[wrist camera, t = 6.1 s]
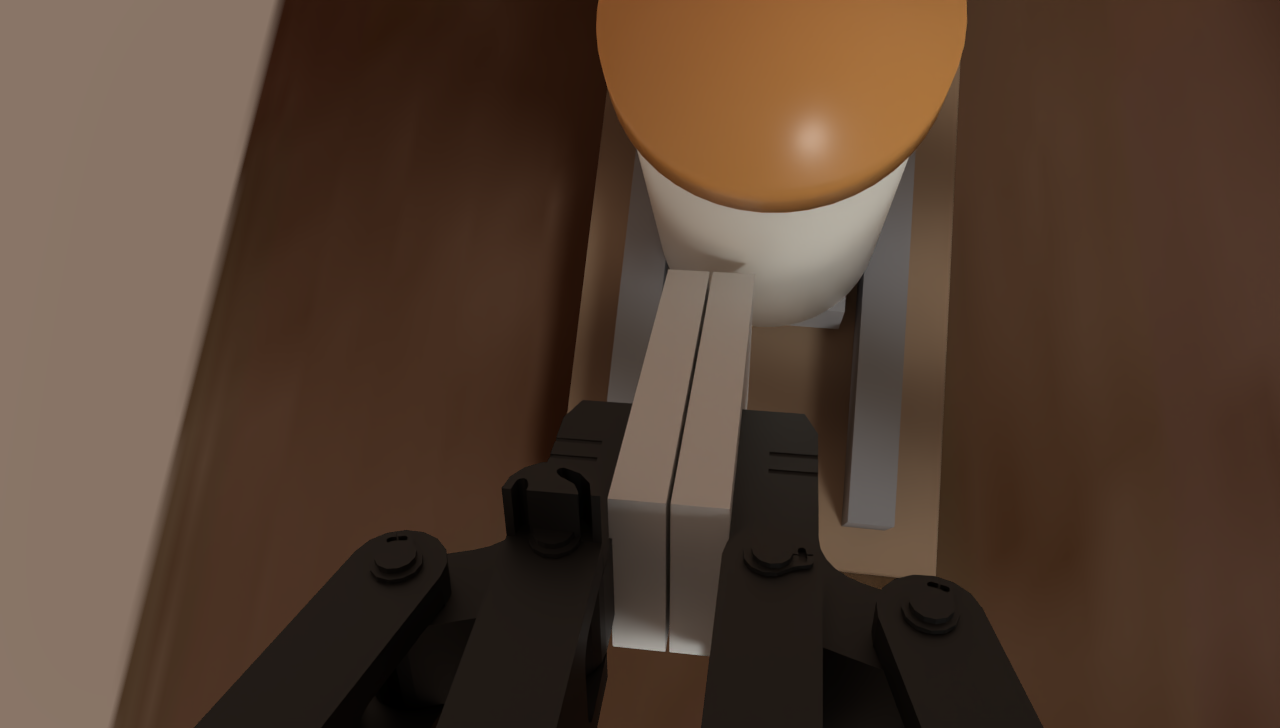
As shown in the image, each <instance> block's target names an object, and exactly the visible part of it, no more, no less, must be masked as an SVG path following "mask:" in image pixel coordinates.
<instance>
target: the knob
mask: <svg viewBox="0 0 1280 728" xmlns="http://www.w3.org/2000/svg"><path fill="white" fill-rule="evenodd" d="M966 27H967V3H966V0H599V2H598V7H597V22H596V34H597V45H598V53H599V57H600V61H601V66H602V70H603V74H604V77H605V81H606V84H607V88H608V91H609V95H610V98H611V102H612V104H613V107H614V110H615V112H616V115H617V117H618V120H619V122H620V124H621V126H622V127H623V129H624V131H625V133H626V134H627V136H628V138H629V140H630V141H631V142H632V144H633V145H634V146H635V147H636V149H637V152H638V155H639V159H640V163H641V167H642V171H643V175H644V179H645V183H646V186H647V190H648V194H649V198H650V202H651V206H652V210H653V214H654V218H655V221H656V225H657V229H658V233H659V237H660V241H661V245H662V249H663V252H664V256H665V258H666V261H667V264H668V266H669V268H670V269H671V270H690V271H708V272H710V276H709V291H710V286H711V280H712V275H713V272H726V273H744V274H755V279H754V297H753V315H752V326H756V327H778V326H787V325H789V326H802V327H815V328H828V329H839V326H840V324H841V321H842V318H843V315H844V312H845V300H846V295H847V294H848V293H849V292H850V291H851V290H852V289H853V287H854V286H855V285H856V284H857V282H858V281H859V280H860V278H861V276H862V275H863V273H864V272H865V270H866V268H867V266H868V263H869V261H870V259H871V257H872V254H873V251H874V249H875V246H876V243H877V241H878V238H879V235H880V233H881V230H882V227H883V225H884V222H885V219H886V217H887V214H888V211H889V209H890V206H891V204H892V201H893V198H894V196H895V193H896V190H897V188H898V185H899V182H900V180H901V177H902V174H903V172H904V169H905V166H906V164H907V161H908V158H909V157H910V156H911V154H912V153H913V152H914V151H915V149H916V148H917V147H918V146H919V145H920V143H921V142H922V141H923V140H924V139H925V137H926V135H927V134H928V132H929V130H930V129H931V127H932V126H933V124H934V122H935V121H936V119H937V117H938V114H939V112H940V110H941V108H942V105H943V103H944V101H945V98H946V96H947V93H948V91H949V88H950V86H951V84H952V81H953V79H954V76H955V74H956V71H957V69H958V66H959V62H960V59H961V55H962V52H963V48H964V43H965V35H966Z"/></svg>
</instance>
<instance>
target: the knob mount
mask: <svg viewBox="0 0 1280 728" xmlns="http://www.w3.org/2000/svg"><path fill="white" fill-rule="evenodd" d="M959 78H960V62H959V66H958V69H957V71H956V74H955V76H954V79H953V81H952V84H951V86H950V88H949V91H948V93H947V96H946V98H945V101H944V103H943V105H942V108H941V110H940V112H939V114H938V117H937V119H936V121H935V122H934V124H933V126H932V127H931V129H930V130H929V132H928V134H927V135H926V137H925V139H924V140H923V141H922V142H921V143H920V145H919V146H918V147H917V148H916V149H915V151H914V152H913V153H912V154H911V156H910V157H909V158H908V161H907V164H906V166H905V169H904V172H903V174H902V177H901V180H900V182H899V185H898V188H897V190H896V193H895V196H894V198H893V201H892V204H891V206H890V209H889V211H888V214H887V217H886V219H885V222H884V225H883V227H882V230H881V233H880V235H879V238H878V241H877V243H876V246H875V249H874V251H873V254H872V257H871V259H870V261H869V263H868V266H867V268H866V270H865V272H864V273H863V275H862V276H861V278H860V280H859V281H858V282H857V284H856V285H855V286H854V287H853V289H852V290H851V291H850V292H849V293H848V294H847V295H846V300H845V312H844V315H843V318H842V321H841V324H840V326H839V329H828V328H815V327H802V326H789V325H787V326H778V327H756V326H752V333H751V351H750V369H749V387H748V402H747V410H758V411H772V412H785V413H799V414H805V415H806V417H807V418H808V420H809V421H810V423H811V424H812V426H813V427H814V429H815V430H816V432H817V433H818V501H819V542H820V548H821V550H822V552H823V554H824V556H825V558H826V559H827V560H828V561H829V562H830V563H831V565H832V566H833V567H834V568H835V569H837V570H838V571H840V572H849V573H858V574H868V575H877V576H886V577H896V578H901V577H905V576H909V575H928V576H936V560H937V539H938V518H939V497H940V476H941V455H942V434H943V413H944V392H945V371H946V350H947V329H948V309H949V288H950V267H951V246H952V225H953V204H954V183H955V162H956V141H957V120H958V99H959ZM668 269H670V268H669V266H668V264H667V261H666V258H665V256H664V252H663V249H662V245H661V241H660V237H659V233H658V229H657V225H656V221H655V218H654V214H653V210H652V206H651V202H650V198H649V194H648V190H647V186H646V183H645V179H644V175H643V171H642V167H641V163H640V159H639V155H638V152H637V149H636V147H635V146H634V145H633V144H632V142H631V141H630V140H629V138H628V136H627V134H626V133H625V131H624V129H623V127H622V126H621V124H620V122H619V120H618V117H617V115H616V112H615V110H614V107H613V104H612V102H611V98H610V95H609V91H608V88H607V95H606V103H605V111H604V119H603V127H602V135H601V143H600V151H599V159H598V168H597V176H596V184H595V192H594V200H593V208H592V216H591V224H590V232H589V241H588V249H587V257H586V265H585V273H584V281H583V289H582V297H581V306H580V314H579V322H578V330H577V338H576V346H575V354H574V362H573V370H572V379H571V387H570V395H569V403H568V411H567V414H568V413H569V412H570V411H571V410H572V409H573V408H574V407H575V406H576V405H578V404H579V403H580V402H581V401H582V400H591V401H605V402H618V403H632V404H633V401H634V397H635V393H636V389H637V386H638V382H639V378H640V374H641V371H642V367H643V363H644V359H645V355H646V352H647V348H648V344H649V340H650V337H651V333H652V329H653V325H654V322H655V318H656V314H657V310H658V306H659V303H660V299H661V295H662V291H663V288H664V284H665V280H666V276H667V273H668Z"/></svg>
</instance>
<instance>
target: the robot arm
mask: <svg viewBox="0 0 1280 728" xmlns="http://www.w3.org/2000/svg"><path fill="white" fill-rule="evenodd" d="M709 276H710V272H708V271H690V270H671V269H668V273H667V276H666V280H665V284H664V288H663V291H662V295H661V299H660V303H659V306H658V310H657V314H656V318H655V322H654V325H653V329H652V333H651V337H650V340H649V344H648V348H647V352H646V355H645V359H644V363H643V367H642V371H641V374H640V378H639V382H638V386H637V389H636V393H635V397H634V401H633V404H632V403H618V402H605V401H591V400H582V401H581V402H580V403H579V404H578V405H576V406H575V407H574V408H573V409H572V410H571V411H570V412H569V413H568V414H567V415H565V416H564V418H563V421H562V423H561V426H560V429H559V432H558V434H557V437H556V441H555V443H554V445H553V448H552V451H551V456H550V458H549V459H548V462H542V463H538V464H535V465H531V466H528V467H525V468H523V469H521V470H520V471H518V472H517V473H515V474H513V475H512V476H510V477H509V479H508V480H507V482H506V483H505V484H504V486H503V487H502V495H503V505H504V514H505V523H506V533H507V536H506V539H505V540H504V541H501V542H499V543H497V544H494V545H492V546H489V547H485V548H481V549H476V550H470V551H463V552H457V553H450V554H447V553H446V549H445V548H444V546H443V545H442V544H441V542H440V541H439V540H438V539H437V538H435V537H433V536H431V535H429V534H426V533H424V532H418V531H409V530H404V531H397V532H390V533H386V534H383V535H381V536H378V537H376V538H374V539H371V540H369V541H368V542H366V543H365V544H364V545H363V546H361V547H360V548H359V549H358V550H356V551H355V552H354V553H353V554H352V555H351V557H350V558H349V559H348V560H347V561H346V562H345V563H344V564H343V565H342V566H341V567H340V569H339V570H338V571H337V572H336V573H335V574H334V575H333V576H332V577H331V578H330V579H329V581H328V582H327V583H326V584H325V585H324V586H323V587H322V588H321V589H320V590H319V592H318V593H317V594H316V595H315V596H314V597H313V598H312V599H311V600H310V601H309V602H308V604H307V605H306V606H305V607H304V608H303V609H302V610H301V611H300V612H299V613H298V614H297V616H296V617H295V618H294V619H293V620H292V621H291V622H290V623H289V624H288V625H287V627H286V628H285V629H284V630H283V631H282V632H281V633H280V634H279V635H278V636H277V637H276V639H275V640H274V641H273V642H272V643H271V644H270V645H269V646H268V647H267V648H266V649H265V651H264V652H263V653H262V654H261V655H260V656H259V657H258V658H257V659H256V660H255V661H254V663H253V664H252V665H251V666H250V667H249V668H248V669H247V670H246V671H245V672H244V674H243V675H242V676H241V677H240V678H239V679H238V680H237V681H236V682H235V683H234V684H233V686H232V687H231V688H230V689H229V690H228V691H227V692H226V693H225V694H224V695H223V696H222V698H221V699H220V700H219V701H218V702H217V703H216V704H215V705H214V706H213V707H212V708H211V710H210V711H209V712H208V713H207V714H206V715H205V716H204V717H203V718H202V719H201V721H200V722H199V723H198V724H197V725H196V726H195V727H194V728H597V725H598V720H599V715H600V711H601V706H602V701H603V696H604V691H605V686H606V682H607V677H608V676H607V647H608V643H609V638H610V634H611V629H612V637H613V646H616V647H626V648H635V649H645V650H655V651H664V652H665V651H666V644H667V638H668V632H669V625H670V652H674V653H684V654H693V655H703V656H710V658H709V666H708V675H707V683H706V692H705V700H704V708H703V717H702V725H701V728H1043V726H1042V724H1041V722H1040V720H1039V718H1038V716H1037V714H1036V712H1035V710H1034V708H1033V706H1032V704H1031V702H1030V700H1029V699H1028V697H1027V695H1026V693H1025V691H1024V689H1023V687H1022V685H1021V683H1020V681H1019V679H1018V677H1017V675H1016V673H1015V671H1014V669H1013V667H1012V665H1011V663H1010V661H1009V659H1008V657H1007V656H1006V654H1005V652H1004V650H1003V648H1002V646H1001V644H1000V642H999V640H998V638H997V636H996V634H995V632H994V630H993V628H992V626H991V624H990V622H989V620H988V618H987V616H986V615H985V613H984V611H983V609H982V607H981V606H980V605H979V603H978V602H977V601H976V600H975V598H974V597H973V596H972V595H971V594H970V593H969V592H967V591H966V590H964V589H963V588H961V587H960V586H958V585H957V584H955V583H954V582H951V581H948V580H945V579H942V578H939V577H936V576H928V575H909V576H905V577H901V578H896V579H894V580H893V581H891V582H890V583H889V584H887V585H886V586H884V587H883V588H882V590H880V589H877V588H874V587H871V586H868V585H865V584H862V583H860V582H858V581H856V580H853V579H851V578H849V577H847V576H845V575H844V574H843V573H841V572H840V571H838V570H837V569H835V568H834V567H833V566H832V565H831V563H830V562H829V561H828V560H827V559H826V558H825V556H824V554H823V552H822V550H821V548H820V542H819V501H818V433H817V432H816V430H815V429H814V427H813V426H812V424H811V423H810V421H809V420H808V418H807V417H806V415H805V414H799V413H785V412H772V411H758V410H747V402H748V387H749V369H750V351H751V333H752V315H753V297H754V279H755V274H744V273H726V272H713V275H712V280H711V286H710V291H709Z"/></svg>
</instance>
